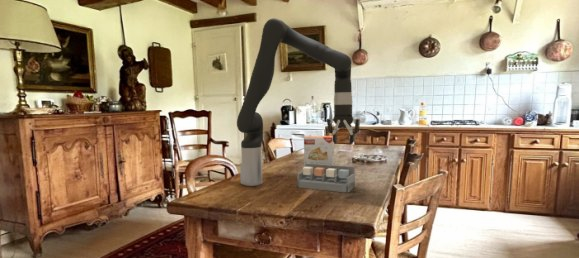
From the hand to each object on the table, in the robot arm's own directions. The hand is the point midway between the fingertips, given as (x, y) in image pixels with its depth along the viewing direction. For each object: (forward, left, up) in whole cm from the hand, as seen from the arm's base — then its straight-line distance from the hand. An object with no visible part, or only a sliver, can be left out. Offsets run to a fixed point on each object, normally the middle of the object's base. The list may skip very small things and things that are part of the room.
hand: (343, 143), depth 138 cm
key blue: (0, 0, -15) cm, 15 cm away
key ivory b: (-6, 0, -14) cm, 15 cm away
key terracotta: (-11, 0, -15) cm, 18 cm away
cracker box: (-17, +14, -20) cm, 30 cm away
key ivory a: (-17, 0, -14) cm, 22 cm away
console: (-8, 0, -20) cm, 21 cm away
